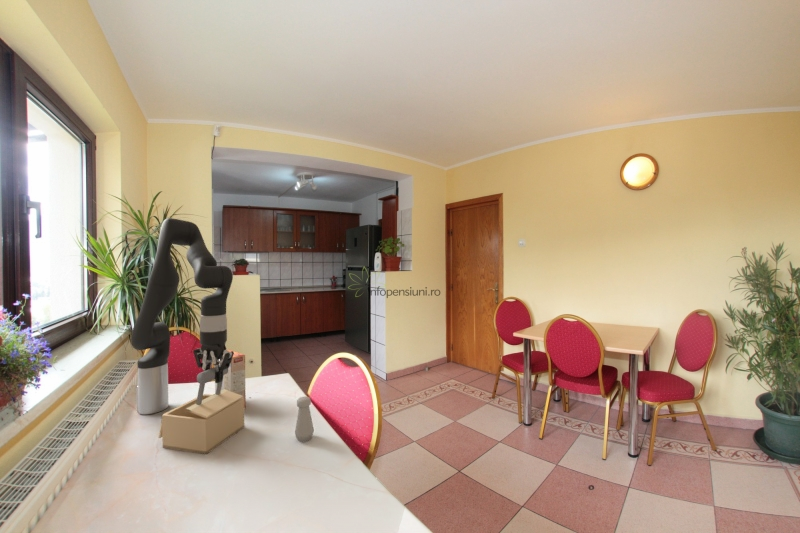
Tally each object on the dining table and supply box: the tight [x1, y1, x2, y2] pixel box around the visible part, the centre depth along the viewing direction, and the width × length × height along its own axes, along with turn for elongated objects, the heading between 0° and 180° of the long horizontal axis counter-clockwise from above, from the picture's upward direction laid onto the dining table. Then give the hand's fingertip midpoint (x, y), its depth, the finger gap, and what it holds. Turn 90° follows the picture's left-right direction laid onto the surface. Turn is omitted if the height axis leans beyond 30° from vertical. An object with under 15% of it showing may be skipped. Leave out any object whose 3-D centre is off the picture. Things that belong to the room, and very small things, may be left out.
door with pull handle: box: [186, 365, 243, 419], centre depth 103 cm, size 9×15×11 cm, turn 167°
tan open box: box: [158, 393, 245, 455], centre depth 105 cm, size 18×16×10 cm
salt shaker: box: [294, 396, 315, 443], centre depth 103 cm, size 6×6×13 cm
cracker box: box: [214, 349, 247, 409], centre depth 127 cm, size 14×6×21 cm, turn 52°
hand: (213, 381), depth 103 cm, fingers closed on door with pull handle, 3 cm apart
